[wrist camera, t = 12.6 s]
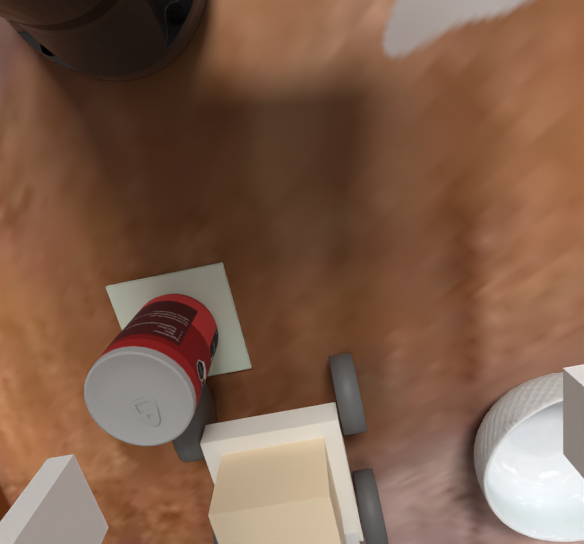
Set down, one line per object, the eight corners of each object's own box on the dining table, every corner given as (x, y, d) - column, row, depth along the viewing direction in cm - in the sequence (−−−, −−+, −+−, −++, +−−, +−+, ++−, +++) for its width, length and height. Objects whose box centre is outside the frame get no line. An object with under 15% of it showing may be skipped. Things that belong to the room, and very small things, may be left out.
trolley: (183, 369, 41) (78, 600, 21) (347, 339, 40) (402, 551, 20) (236, 525, 48) (195, 814, 28) (378, 502, 47) (443, 787, 26)
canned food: (179, 379, 41) (140, 464, 31) (120, 322, 39) (57, 392, 29) (237, 336, 39) (218, 410, 29) (179, 274, 37) (136, 329, 27)
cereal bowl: (577, 317, 39) (636, 355, 33) (648, 431, 43) (713, 485, 37) (425, 410, 43) (449, 462, 36) (504, 507, 47) (539, 570, 40)
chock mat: (107, 285, 38) (105, 287, 38) (222, 262, 37) (221, 263, 37) (145, 385, 42) (144, 388, 41) (251, 366, 41) (251, 368, 41)
